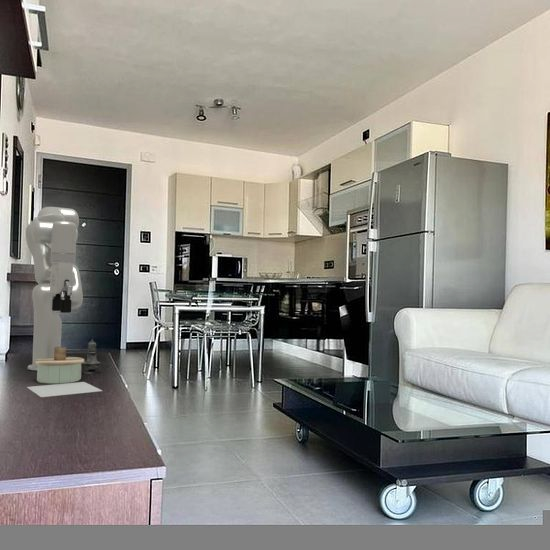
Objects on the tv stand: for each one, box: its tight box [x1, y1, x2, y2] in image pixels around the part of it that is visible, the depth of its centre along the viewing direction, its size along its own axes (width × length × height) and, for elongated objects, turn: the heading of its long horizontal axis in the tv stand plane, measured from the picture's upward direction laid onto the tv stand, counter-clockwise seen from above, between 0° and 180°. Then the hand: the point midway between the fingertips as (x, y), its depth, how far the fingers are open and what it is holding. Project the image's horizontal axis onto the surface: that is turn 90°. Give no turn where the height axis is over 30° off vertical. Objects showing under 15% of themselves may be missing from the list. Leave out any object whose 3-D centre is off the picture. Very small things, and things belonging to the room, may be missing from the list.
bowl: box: [36, 363, 82, 384], centre depth 169 cm, size 13×13×6 cm
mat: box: [26, 381, 103, 398], centre depth 154 cm, size 17×17×1 cm
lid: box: [34, 346, 85, 366], centre depth 169 cm, size 15×15×5 cm
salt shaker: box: [82, 339, 101, 375], centre depth 186 cm, size 6×6×12 cm
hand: (61, 311), depth 170 cm, fingers open, 9 cm apart
